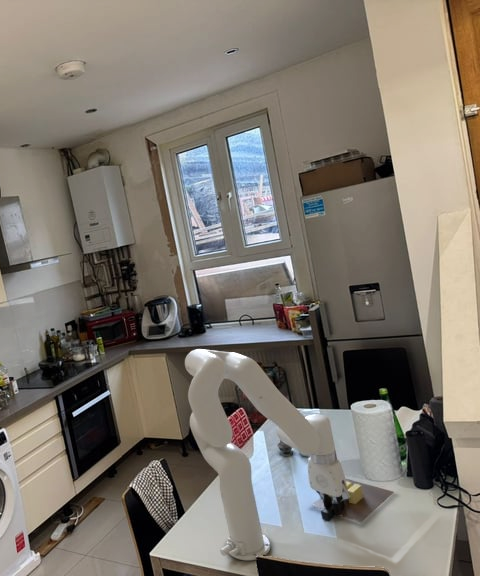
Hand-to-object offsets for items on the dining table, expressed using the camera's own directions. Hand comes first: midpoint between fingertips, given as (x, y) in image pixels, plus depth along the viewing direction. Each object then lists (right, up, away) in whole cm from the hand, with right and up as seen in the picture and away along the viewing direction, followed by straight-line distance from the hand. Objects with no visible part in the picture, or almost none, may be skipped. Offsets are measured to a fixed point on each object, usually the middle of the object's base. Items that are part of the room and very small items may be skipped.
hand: (333, 511), depth 156 cm
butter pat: (+9, +2, +4) cm, 10 cm away
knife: (+4, +1, +3) cm, 5 cm away
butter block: (+6, +2, +9) cm, 11 cm away
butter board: (+9, +1, +5) cm, 10 cm away
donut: (+11, +4, +42) cm, 44 cm away
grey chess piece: (+3, +3, +46) cm, 46 cm away
